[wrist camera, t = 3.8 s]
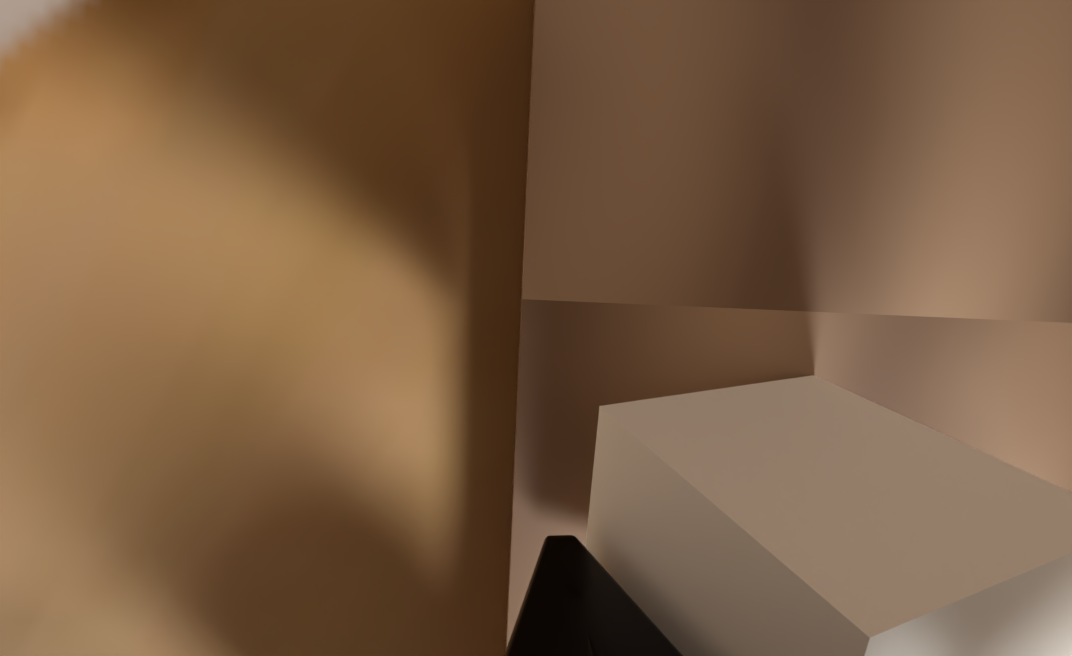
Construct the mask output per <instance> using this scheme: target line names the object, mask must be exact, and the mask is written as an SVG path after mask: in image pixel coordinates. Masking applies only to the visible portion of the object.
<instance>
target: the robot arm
mask: <svg viewBox="0 0 1072 656" xmlns="http://www.w3.org/2000/svg"><path fill="white" fill-rule="evenodd" d="M504 656H683V655H682V654H681V653H680V652H679V651H678V649H677V648H676V647H675V646H674V645H673V644H672V643H671V642H670V641H669V639H668V638H667V637H666V636H665V635H664V634H663V633H662V632H661V631H660V629H659V628H658V627H657V626H656V625H655V624H654V623H653V622H652V621H651V619H650V618H649V617H648V616H647V615H646V614H645V613H644V612H643V611H642V609H641V608H640V607H639V606H638V605H637V604H636V603H635V602H634V601H633V600H632V598H631V597H630V596H629V595H628V594H627V593H626V592H625V591H624V590H623V588H622V587H621V586H620V585H619V584H618V583H617V582H616V581H615V580H614V578H613V577H612V576H611V575H610V574H609V573H608V572H607V571H606V570H605V568H604V567H603V566H602V565H601V564H600V563H599V562H598V561H597V560H596V558H595V557H594V556H593V555H592V554H591V553H590V552H589V551H588V550H587V548H586V547H585V546H584V545H583V544H582V543H581V542H580V541H579V540H578V538H576V537H575V536H573V535H550V536H547V537H546V538H545V540H544V543H543V546H542V548H541V551H540V554H539V557H538V560H537V563H536V566H535V568H534V571H533V574H532V577H531V580H530V583H529V586H528V588H527V591H526V594H525V597H524V600H523V603H522V606H521V608H520V611H519V614H518V617H517V620H516V623H515V626H514V628H513V631H512V634H511V637H510V640H509V643H508V646H507V648H506V651H505V654H504Z"/></svg>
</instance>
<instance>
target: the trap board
mask: <svg viewBox="0 0 1072 656" xmlns="http://www.w3.org/2000/svg"><path fill="white" fill-rule="evenodd" d="M811 375H814V376H817V377H819V378H821V379H823V380H825V381H828V382H830V383H832V384H834V385H836V386H839V387H841V388H843V389H845V390H847V391H850V392H852V393H854V394H856V395H858V396H861V397H863V398H865V399H867V400H869V401H872V402H874V403H876V404H878V405H880V406H883V407H885V408H887V409H889V410H891V411H894V412H896V413H898V414H900V415H902V416H905V417H907V418H909V419H911V420H913V421H916V422H918V423H920V424H922V425H924V426H927V427H929V428H931V429H933V430H935V431H938V432H940V433H942V434H944V435H946V436H949V437H951V438H953V439H955V440H957V441H960V442H962V443H964V444H966V445H968V446H971V447H973V448H975V449H977V450H979V451H982V452H984V453H986V454H988V455H990V456H993V457H995V458H997V459H999V460H1001V461H1004V462H1006V463H1008V464H1010V465H1012V466H1015V467H1017V468H1019V469H1021V470H1023V471H1026V472H1028V473H1030V474H1032V475H1034V476H1037V477H1039V478H1041V479H1043V480H1045V481H1048V482H1050V483H1052V484H1054V485H1056V486H1059V487H1061V488H1063V489H1065V490H1067V491H1070V492H1072V0H534V18H533V41H532V63H531V86H530V108H529V131H528V154H527V176H526V199H525V221H524V244H523V267H522V289H521V312H520V334H519V357H518V379H517V402H516V425H515V447H514V470H513V492H512V515H511V538H510V560H509V583H508V605H507V628H506V648H507V646H508V643H509V640H510V637H511V634H512V631H513V628H514V626H515V623H516V620H517V617H518V614H519V611H520V608H521V606H522V603H523V600H524V597H525V594H526V591H527V588H528V586H529V583H530V580H531V577H532V574H533V571H534V568H535V566H536V563H537V560H538V557H539V554H540V551H541V548H542V546H543V543H544V540H545V538H546V537H547V536H550V535H573V536H575V537H576V538H578V540H579V541H580V542H581V543H582V544H583V545H584V546H585V545H586V535H587V525H588V515H589V505H590V495H591V486H592V476H593V466H594V456H595V446H596V436H597V426H598V416H599V406H603V405H610V404H617V403H624V402H631V401H637V400H644V399H651V398H658V397H665V396H672V395H679V394H686V393H693V392H700V391H707V390H714V389H721V388H728V387H735V386H742V385H749V384H756V383H763V382H770V381H777V380H783V379H790V378H797V377H804V376H811Z"/></svg>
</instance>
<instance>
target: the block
mask: <svg viewBox="0 0 1072 656" xmlns="http://www.w3.org/2000/svg"><path fill="white" fill-rule="evenodd" d="M585 547H586V548H587V550H588V551H589V552H590V553H591V554H592V555H593V556H594V557H595V558H596V560H597V561H598V562H599V563H600V564H601V565H602V566H603V567H604V568H605V570H606V571H607V572H608V573H609V574H610V575H611V576H612V577H613V578H614V580H615V581H616V582H617V583H618V584H619V585H620V586H621V587H622V588H623V590H624V591H625V592H626V593H627V594H628V595H629V596H630V597H631V598H632V600H633V601H634V602H635V603H636V604H637V605H638V606H639V607H640V608H641V609H642V611H643V612H644V613H645V614H646V615H647V616H648V617H649V618H650V619H651V621H652V622H653V623H654V624H655V625H656V626H657V627H658V628H659V629H660V631H661V632H662V633H663V634H664V635H665V636H666V637H667V638H668V639H669V641H670V642H671V643H672V644H673V645H674V646H675V647H676V648H677V649H678V651H679V652H680V653H681V654H682V655H683V656H1072V492H1070V491H1067V490H1065V489H1063V488H1061V487H1059V486H1056V485H1054V484H1052V483H1050V482H1048V481H1045V480H1043V479H1041V478H1039V477H1037V476H1034V475H1032V474H1030V473H1028V472H1026V471H1023V470H1021V469H1019V468H1017V467H1015V466H1012V465H1010V464H1008V463H1006V462H1004V461H1001V460H999V459H997V458H995V457H993V456H990V455H988V454H986V453H984V452H982V451H979V450H977V449H975V448H973V447H971V446H968V445H966V444H964V443H962V442H960V441H957V440H955V439H953V438H951V437H949V436H946V435H944V434H942V433H940V432H938V431H935V430H933V429H931V428H929V427H927V426H924V425H922V424H920V423H918V422H916V421H913V420H911V419H909V418H907V417H905V416H902V415H900V414H898V413H896V412H894V411H891V410H889V409H887V408H885V407H883V406H880V405H878V404H876V403H874V402H872V401H869V400H867V399H865V398H863V397H861V396H858V395H856V394H854V393H852V392H850V391H847V390H845V389H843V388H841V387H839V386H836V385H834V384H832V383H830V382H828V381H825V380H823V379H821V378H819V377H817V376H814V375H811V376H804V377H797V378H790V379H783V380H777V381H770V382H763V383H756V384H749V385H742V386H735V387H728V388H721V389H714V390H707V391H700V392H693V393H686V394H679V395H672V396H665V397H658V398H651V399H644V400H637V401H631V402H624V403H617V404H610V405H603V406H599V416H598V426H597V436H596V446H595V456H594V466H593V476H592V486H591V495H590V505H589V515H588V525H587V535H586V545H585Z"/></svg>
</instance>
